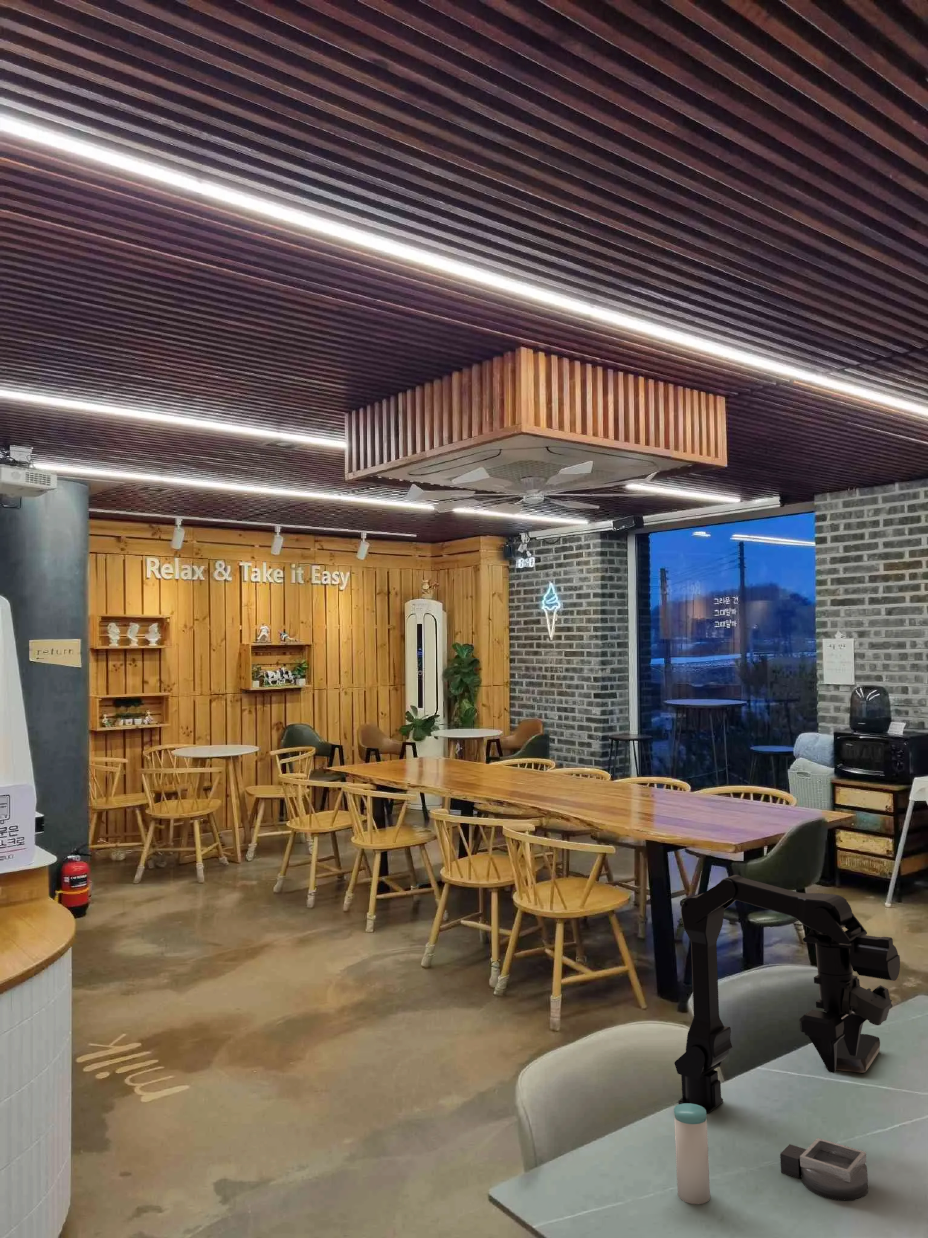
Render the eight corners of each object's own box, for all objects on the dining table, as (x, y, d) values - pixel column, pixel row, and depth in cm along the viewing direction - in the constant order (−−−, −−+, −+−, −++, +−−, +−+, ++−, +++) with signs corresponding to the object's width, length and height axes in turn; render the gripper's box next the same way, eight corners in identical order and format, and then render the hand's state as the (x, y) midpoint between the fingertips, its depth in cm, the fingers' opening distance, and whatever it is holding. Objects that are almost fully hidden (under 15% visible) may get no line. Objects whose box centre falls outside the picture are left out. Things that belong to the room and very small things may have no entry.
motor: (773, 1180, 150) (772, 1151, 150) (797, 1155, 157) (796, 1128, 158) (856, 1208, 141) (854, 1177, 142) (877, 1181, 149) (875, 1152, 149)
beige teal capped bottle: (672, 1197, 146) (668, 1112, 147) (687, 1183, 149) (683, 1100, 150) (701, 1208, 142) (697, 1121, 143) (715, 1194, 146) (711, 1109, 147)
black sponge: (865, 1080, 187) (864, 1061, 187) (821, 1071, 192) (821, 1052, 192) (882, 1053, 200) (882, 1036, 200) (842, 1045, 205) (841, 1028, 205)
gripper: (861, 993, 149) (870, 1093, 147) (901, 965, 162) (910, 1057, 161) (794, 981, 156) (802, 1077, 155) (838, 956, 170) (846, 1044, 168)
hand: (842, 1063), depth 159 cm, fingers open, 9 cm apart
